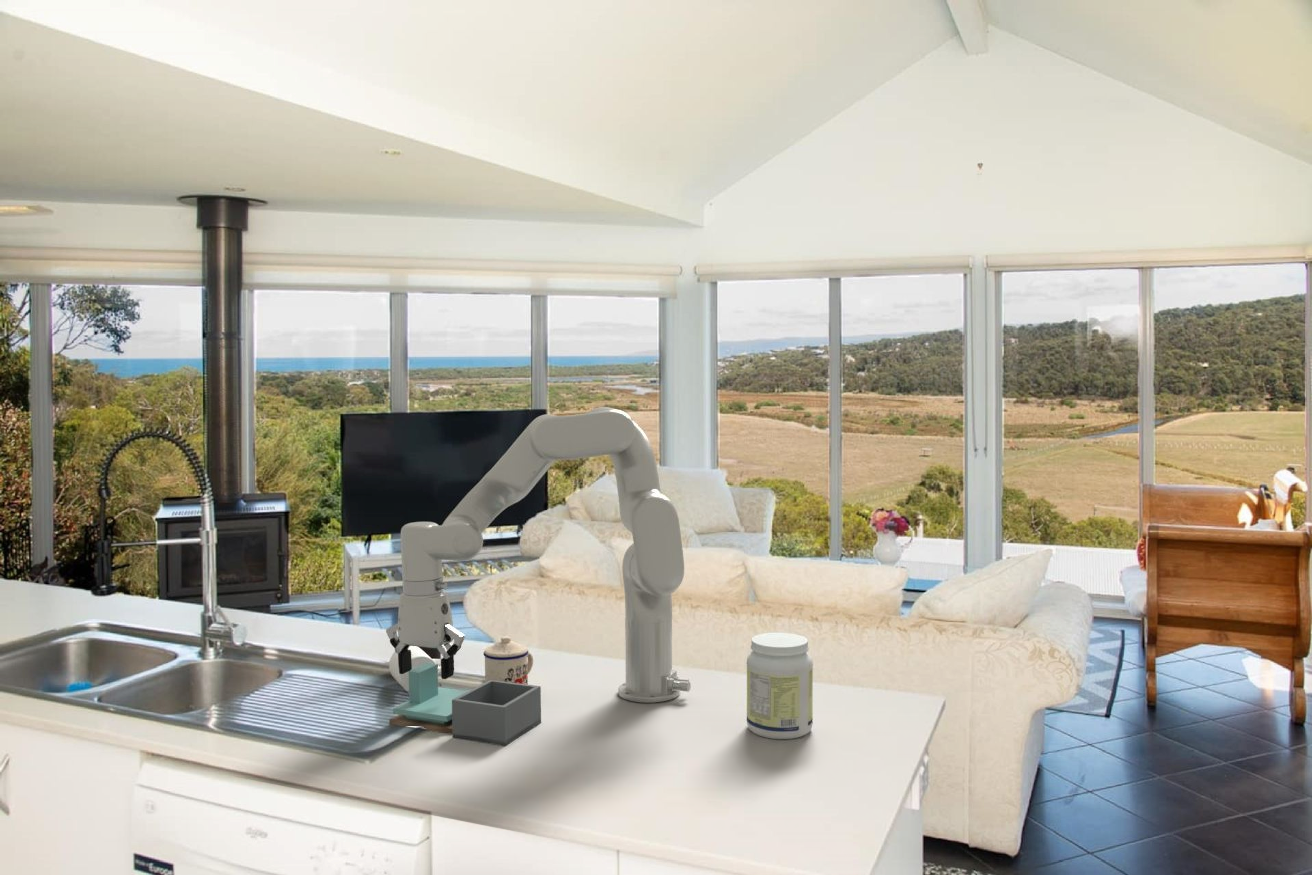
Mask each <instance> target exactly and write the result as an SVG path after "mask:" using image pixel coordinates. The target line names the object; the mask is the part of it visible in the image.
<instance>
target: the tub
mask: <svg viewBox="0 0 1312 875" xmlns="http://www.w3.org/2000/svg"><path fill="white" fill-rule="evenodd" d="M467 691H468V692H466V693H464V694H462V695H460V696H458V697H456V698H454V699H453V700H452V734H451V735H452V738H453V739H459V740H464V741H465V740H466V741H471V742H475V743H484V744H490V745H497V746H501V747H502V746H503V747H506V746H508V745H509V744H510V743H512V742H515V740H516V739H518V738H519V737H521V736H523V735H524V734H526V733H527V732H529V731H530V730H532V729H534V728H535V727H537V726H539V725H540V724H542V694H541V693H542V692H541V691H542V688H541V686H540V685H532V684H528V685H527V684H519V683H512V682H504V681H497V680H489V681H487V682H485V681H484V682H483V683H482V684H478V686H475V687H474V688H471V689H470V690H467Z"/></svg>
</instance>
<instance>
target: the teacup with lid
mask: <svg viewBox="0 0 1312 875" xmlns="http://www.w3.org/2000/svg"><path fill="white" fill-rule="evenodd" d="M511 639H512V638H511V637H510V635H509V636H508V635H506V636H505V635H504V636H501V638H500V641H498V642H496V643H495V644H492V645H490V646H487V647H486V648H485V649H484V651H483V656H484V676H485V677H484V679H485V680H484V683H485V682H487V681H489V680H497V681H504V682H512V683H519V684H527V685H529V684H528V683H529V681H528V680H529V679H528V678H529V677H528V676H529V673H530V672H531V671H532V669H533V665H534V656H533V654H532V653H531V652H529V649H528V647H526V646H525V645H524V644H521V643H520V644H519V643H517V642H516V641H513V640H511Z"/></svg>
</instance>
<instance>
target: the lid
mask: <svg viewBox="0 0 1312 875" xmlns="http://www.w3.org/2000/svg"><path fill="white" fill-rule="evenodd" d="M468 691H469V690H462V689H461V690H460V689H457V688H456V689H454V688H448V687H442V686H439V676H438V664H430V663H426V664H424V665H422V666H420V667H417V668H415V669H413V670H411V671H409V692H408V693H409V694H408V700H406V701H404V702H403V703H400V704H398V705H396V706H395V707H392V714H395V715H399V714H400V715H406V718H409V719H416V720H422V721H429V722H435V723H441V724H445V723H447V722H449V721H451V720H452V700H453V699H454V698H456V697H458V696H460V695H462V694H464V693H466V692H468Z"/></svg>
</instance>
